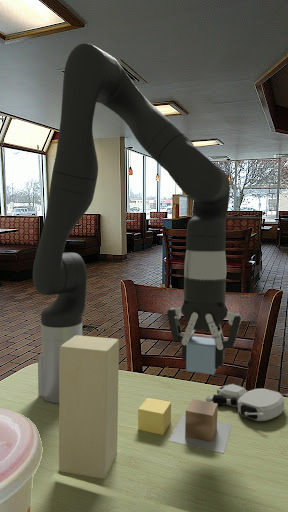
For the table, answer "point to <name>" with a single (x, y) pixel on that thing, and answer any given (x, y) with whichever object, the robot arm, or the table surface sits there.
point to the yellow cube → (154, 416)
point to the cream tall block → (88, 405)
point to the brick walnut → (201, 420)
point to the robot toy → (250, 401)
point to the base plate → (215, 445)
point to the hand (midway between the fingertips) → (202, 365)
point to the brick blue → (201, 355)
